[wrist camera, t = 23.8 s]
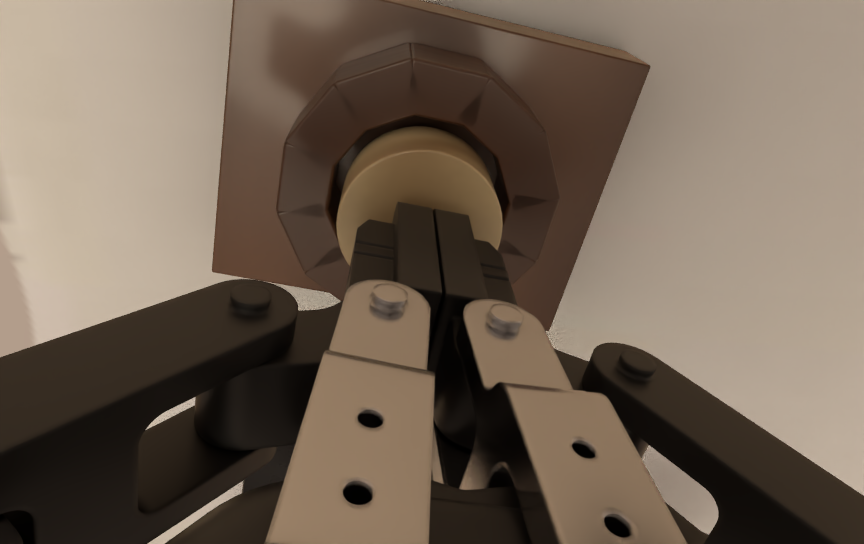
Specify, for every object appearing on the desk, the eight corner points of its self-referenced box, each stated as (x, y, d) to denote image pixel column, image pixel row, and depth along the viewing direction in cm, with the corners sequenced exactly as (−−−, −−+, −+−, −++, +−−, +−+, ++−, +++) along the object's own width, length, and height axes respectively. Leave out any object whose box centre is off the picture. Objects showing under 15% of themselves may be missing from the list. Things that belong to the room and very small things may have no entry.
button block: (626, 51, 17) (684, 83, 14) (537, 297, 21) (564, 372, 17) (253, -42, 16) (211, -31, 12) (228, 241, 20) (190, 310, 16)
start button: (511, 144, 15) (524, 169, 13) (471, 276, 16) (478, 313, 15) (356, 110, 14) (351, 133, 13) (331, 251, 16) (324, 286, 14)
